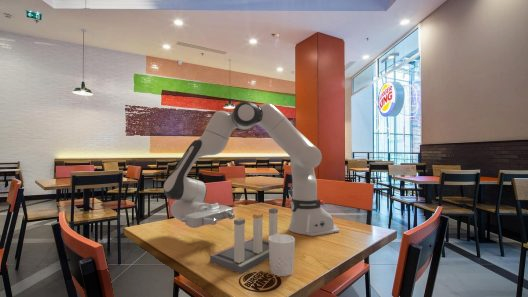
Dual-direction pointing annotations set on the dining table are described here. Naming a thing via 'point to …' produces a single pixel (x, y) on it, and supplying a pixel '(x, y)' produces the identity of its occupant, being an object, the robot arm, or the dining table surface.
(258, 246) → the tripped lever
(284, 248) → the white cup
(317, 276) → the dining table surface
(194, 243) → the dining table surface
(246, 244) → the peg rod stand
